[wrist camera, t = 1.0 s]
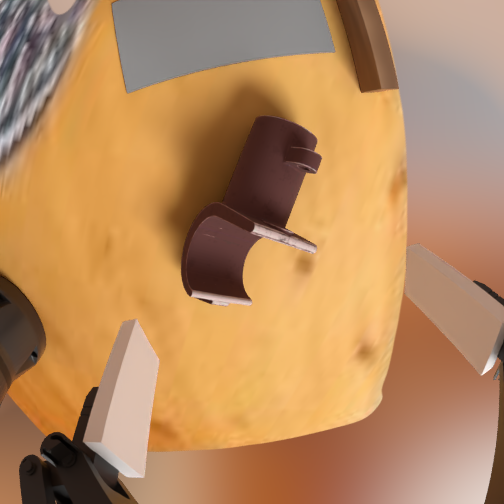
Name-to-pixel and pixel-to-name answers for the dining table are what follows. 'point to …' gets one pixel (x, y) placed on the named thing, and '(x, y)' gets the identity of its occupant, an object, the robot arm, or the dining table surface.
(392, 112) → the dining table surface
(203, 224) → the bracket
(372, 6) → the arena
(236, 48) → the mat
